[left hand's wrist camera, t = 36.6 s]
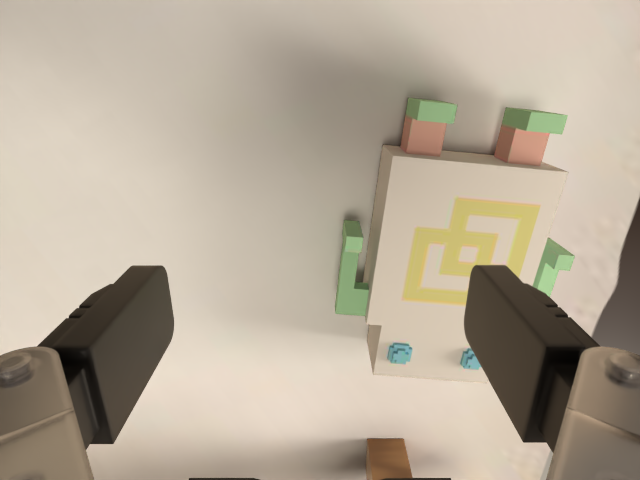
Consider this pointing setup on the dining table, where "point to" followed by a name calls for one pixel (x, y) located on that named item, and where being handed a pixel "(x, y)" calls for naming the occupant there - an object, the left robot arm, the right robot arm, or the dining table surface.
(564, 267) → the decorative block
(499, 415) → the dining table surface
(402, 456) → the block
